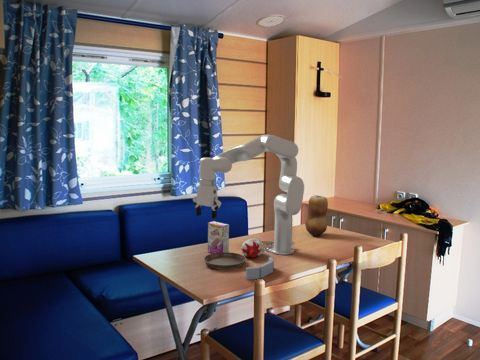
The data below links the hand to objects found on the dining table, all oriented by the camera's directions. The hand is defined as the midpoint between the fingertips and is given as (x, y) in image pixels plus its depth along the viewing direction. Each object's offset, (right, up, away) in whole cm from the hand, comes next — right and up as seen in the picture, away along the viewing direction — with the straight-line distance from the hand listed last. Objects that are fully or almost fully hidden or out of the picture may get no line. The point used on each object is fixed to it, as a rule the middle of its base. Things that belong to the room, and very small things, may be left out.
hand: (206, 216), depth 215 cm
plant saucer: (+9, -24, -1) cm, 25 cm away
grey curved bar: (+27, -25, -14) cm, 40 cm away
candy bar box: (+5, -21, +15) cm, 26 cm away
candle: (+23, -22, +11) cm, 34 cm away
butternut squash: (+64, -16, +56) cm, 87 cm away
